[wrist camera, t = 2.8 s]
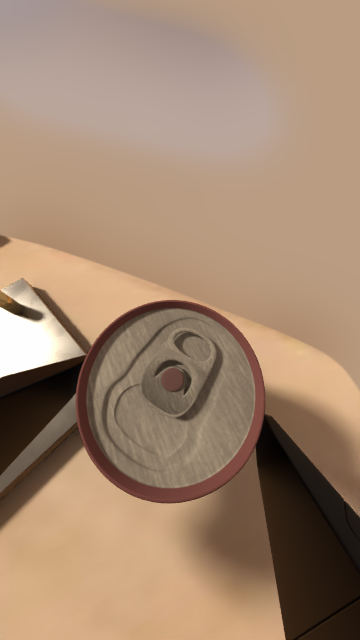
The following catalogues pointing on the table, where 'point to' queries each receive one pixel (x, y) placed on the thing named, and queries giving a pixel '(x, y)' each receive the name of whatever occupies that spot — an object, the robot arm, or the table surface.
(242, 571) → the table surface
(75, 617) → the table surface
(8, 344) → the chassis plate
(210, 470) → the soda can
